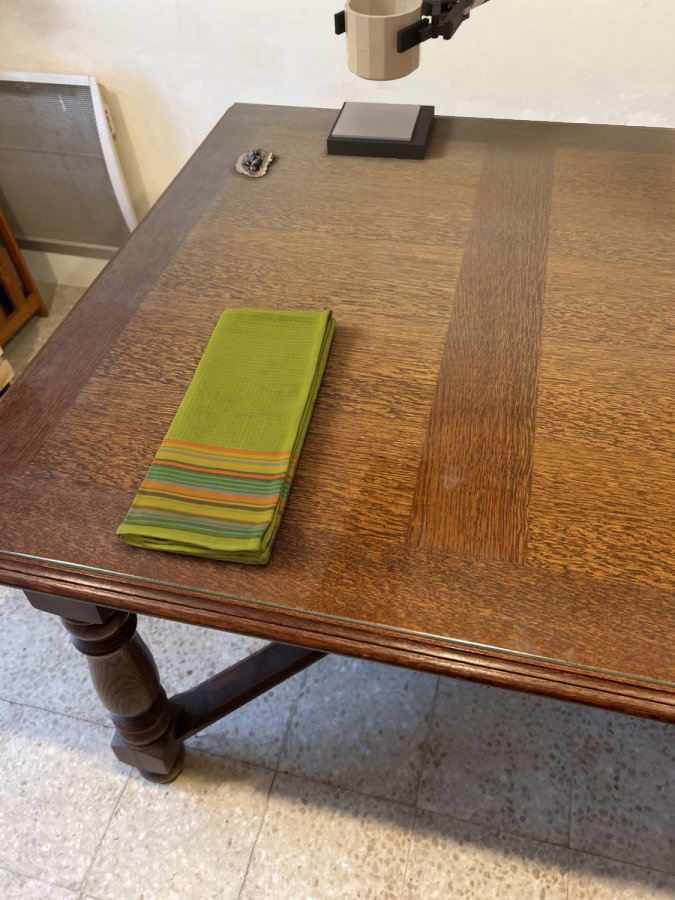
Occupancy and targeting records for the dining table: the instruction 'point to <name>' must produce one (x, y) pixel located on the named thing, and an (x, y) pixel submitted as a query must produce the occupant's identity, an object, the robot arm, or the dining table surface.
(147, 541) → the dish towel
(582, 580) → the dining table surface
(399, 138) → the scale
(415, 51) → the beige faceted pot
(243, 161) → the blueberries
